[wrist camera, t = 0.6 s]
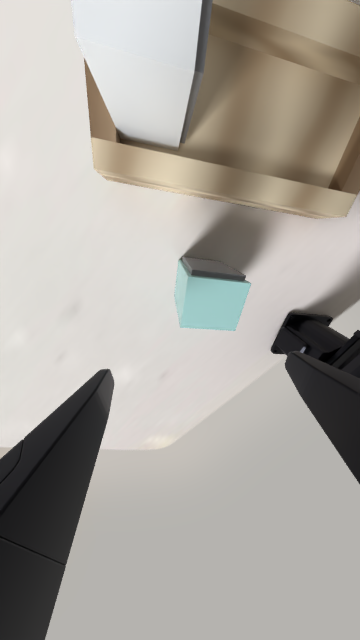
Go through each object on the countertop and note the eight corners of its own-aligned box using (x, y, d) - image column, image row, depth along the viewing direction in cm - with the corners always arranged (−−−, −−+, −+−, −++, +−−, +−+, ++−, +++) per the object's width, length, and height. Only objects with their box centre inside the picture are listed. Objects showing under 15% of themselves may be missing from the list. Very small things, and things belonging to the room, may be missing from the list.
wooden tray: (379, 78, 12) (437, 38, 10) (316, 218, 17) (345, 216, 14) (94, -22, 9) (69, -118, 7) (106, 179, 14) (93, 168, 11)
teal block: (212, 299, 20) (235, 330, 14) (174, 295, 19) (180, 327, 13) (221, 261, 18) (253, 277, 12) (179, 255, 17) (189, 270, 11)
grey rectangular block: (193, 49, 10) (244, -231, 4) (183, 152, 12) (204, 75, 6) (117, 25, 9) (35, -357, 3) (120, 138, 11) (74, 36, 5)
